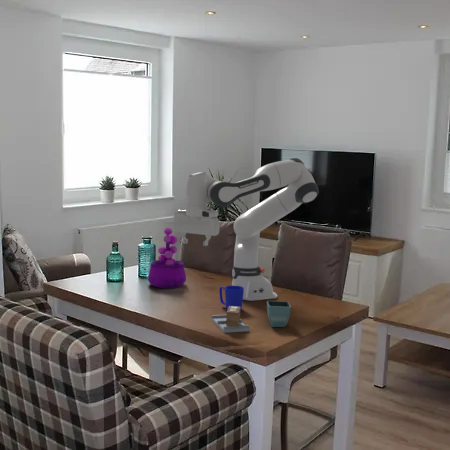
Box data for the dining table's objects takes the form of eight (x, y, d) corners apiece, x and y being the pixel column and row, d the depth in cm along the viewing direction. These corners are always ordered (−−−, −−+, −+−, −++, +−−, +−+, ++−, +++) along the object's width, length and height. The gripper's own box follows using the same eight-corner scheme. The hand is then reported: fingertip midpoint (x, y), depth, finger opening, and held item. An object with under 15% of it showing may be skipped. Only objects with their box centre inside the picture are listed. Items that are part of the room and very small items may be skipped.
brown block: (228, 319, 246) (229, 305, 245) (239, 320, 245) (240, 306, 244) (226, 326, 237) (226, 311, 236) (237, 326, 236) (238, 312, 236)
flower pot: (287, 322, 252) (288, 301, 251) (290, 329, 243) (291, 306, 242) (265, 322, 252) (266, 300, 251) (267, 328, 243) (268, 306, 242)
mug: (225, 305, 277) (226, 283, 275) (246, 310, 269) (247, 287, 268) (213, 308, 270) (214, 285, 269) (235, 313, 263) (236, 290, 262)
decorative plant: (160, 281, 319) (162, 223, 315) (192, 286, 311) (194, 227, 307) (140, 288, 302) (141, 227, 298) (173, 293, 294) (174, 231, 290)
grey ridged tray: (234, 319, 255) (234, 313, 254) (248, 331, 239) (249, 325, 238) (211, 320, 252) (211, 315, 251) (224, 332, 236) (224, 327, 235)
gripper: (170, 210, 259) (169, 243, 260) (214, 213, 250) (213, 247, 252) (178, 209, 264) (177, 241, 266) (221, 212, 256) (220, 245, 258)
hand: (195, 244), depth 259 cm, fingers open, 8 cm apart
